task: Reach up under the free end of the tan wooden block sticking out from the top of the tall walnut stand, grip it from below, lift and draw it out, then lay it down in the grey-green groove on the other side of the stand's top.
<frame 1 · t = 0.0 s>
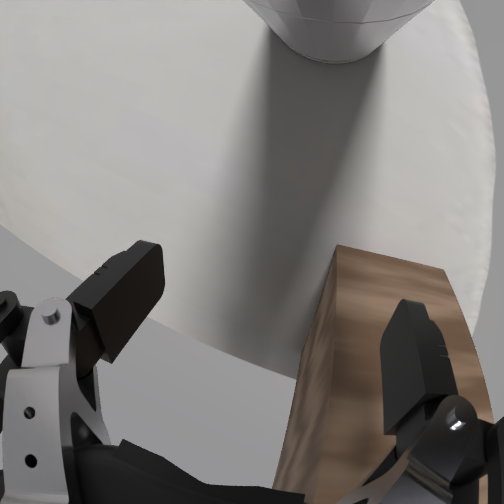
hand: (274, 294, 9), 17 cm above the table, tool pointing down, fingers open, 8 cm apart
stand: (367, 319, 30), on the table
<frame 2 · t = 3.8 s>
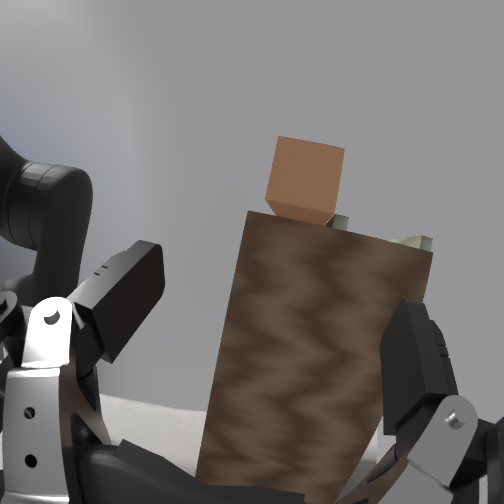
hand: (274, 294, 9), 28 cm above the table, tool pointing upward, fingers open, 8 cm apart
stand: (268, 470, 30), on the table
tan wooden block: (300, 225, 28), point 32 cm above the table, touching stand
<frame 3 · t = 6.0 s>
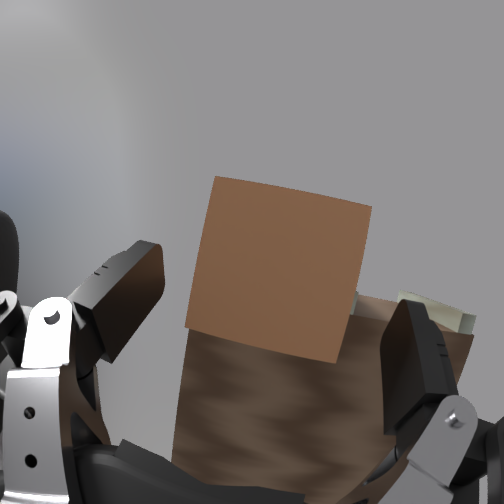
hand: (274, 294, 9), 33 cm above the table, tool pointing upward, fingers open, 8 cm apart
tan wooden block: (283, 290, 19), point 32 cm above the table, touching stand
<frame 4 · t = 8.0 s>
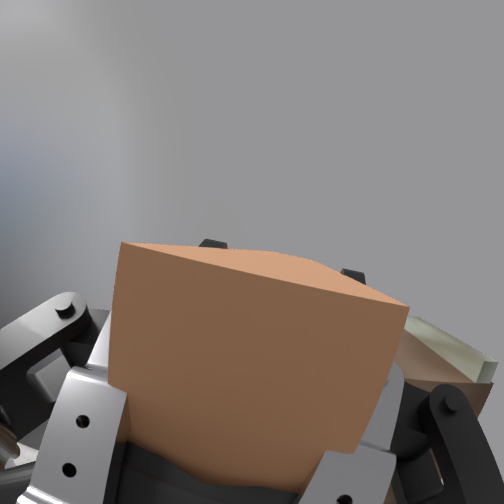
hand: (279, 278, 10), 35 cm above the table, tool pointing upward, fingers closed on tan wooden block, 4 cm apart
tan wooden block: (272, 329, 15), point 32 cm above the table, touching gripper, stand
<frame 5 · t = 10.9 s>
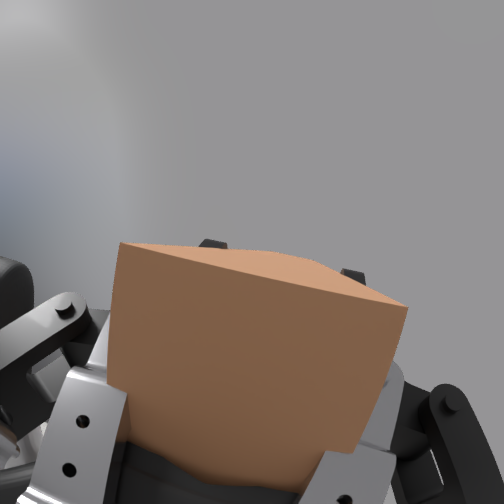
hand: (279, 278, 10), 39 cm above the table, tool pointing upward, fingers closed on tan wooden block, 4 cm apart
tan wooden block: (272, 329, 16), point 36 cm above the table, touching gripper
when the fingers open (37 cm above the table, at t = 13.6 s): tan wooden block drops 2 cm, resting on stand.
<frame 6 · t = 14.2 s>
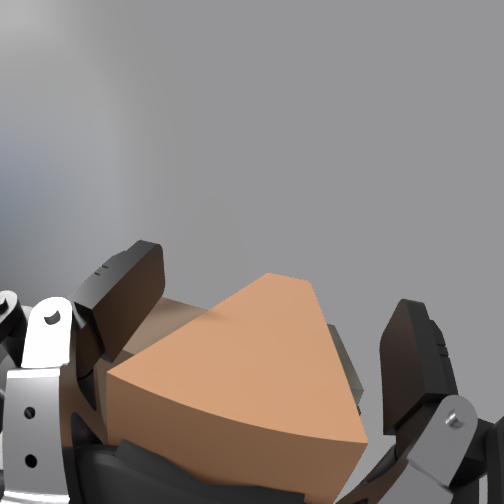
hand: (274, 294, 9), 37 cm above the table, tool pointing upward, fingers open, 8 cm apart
tan wooden block: (265, 363, 15), point 32 cm above the table, touching stand
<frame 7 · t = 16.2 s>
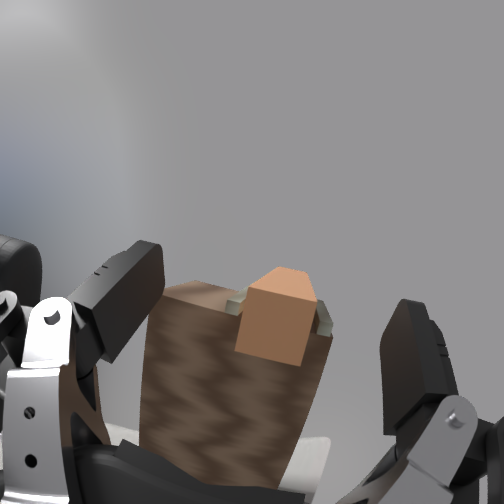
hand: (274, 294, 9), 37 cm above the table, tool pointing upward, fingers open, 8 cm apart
stand: (206, 493, 32), on the table
tan wooden block: (280, 316, 28), point 32 cm above the table, touching stand
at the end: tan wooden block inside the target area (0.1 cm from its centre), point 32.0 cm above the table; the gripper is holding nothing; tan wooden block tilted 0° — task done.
